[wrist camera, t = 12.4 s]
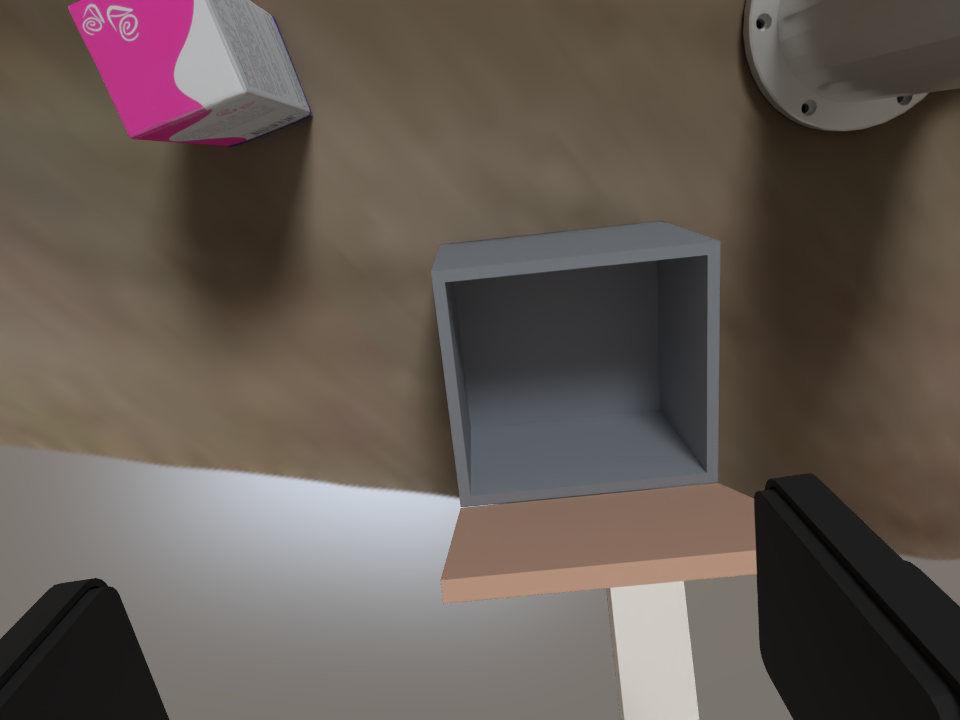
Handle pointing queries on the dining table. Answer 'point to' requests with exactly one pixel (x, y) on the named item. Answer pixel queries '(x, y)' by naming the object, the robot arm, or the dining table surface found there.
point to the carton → (580, 361)
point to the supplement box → (192, 68)
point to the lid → (614, 572)
